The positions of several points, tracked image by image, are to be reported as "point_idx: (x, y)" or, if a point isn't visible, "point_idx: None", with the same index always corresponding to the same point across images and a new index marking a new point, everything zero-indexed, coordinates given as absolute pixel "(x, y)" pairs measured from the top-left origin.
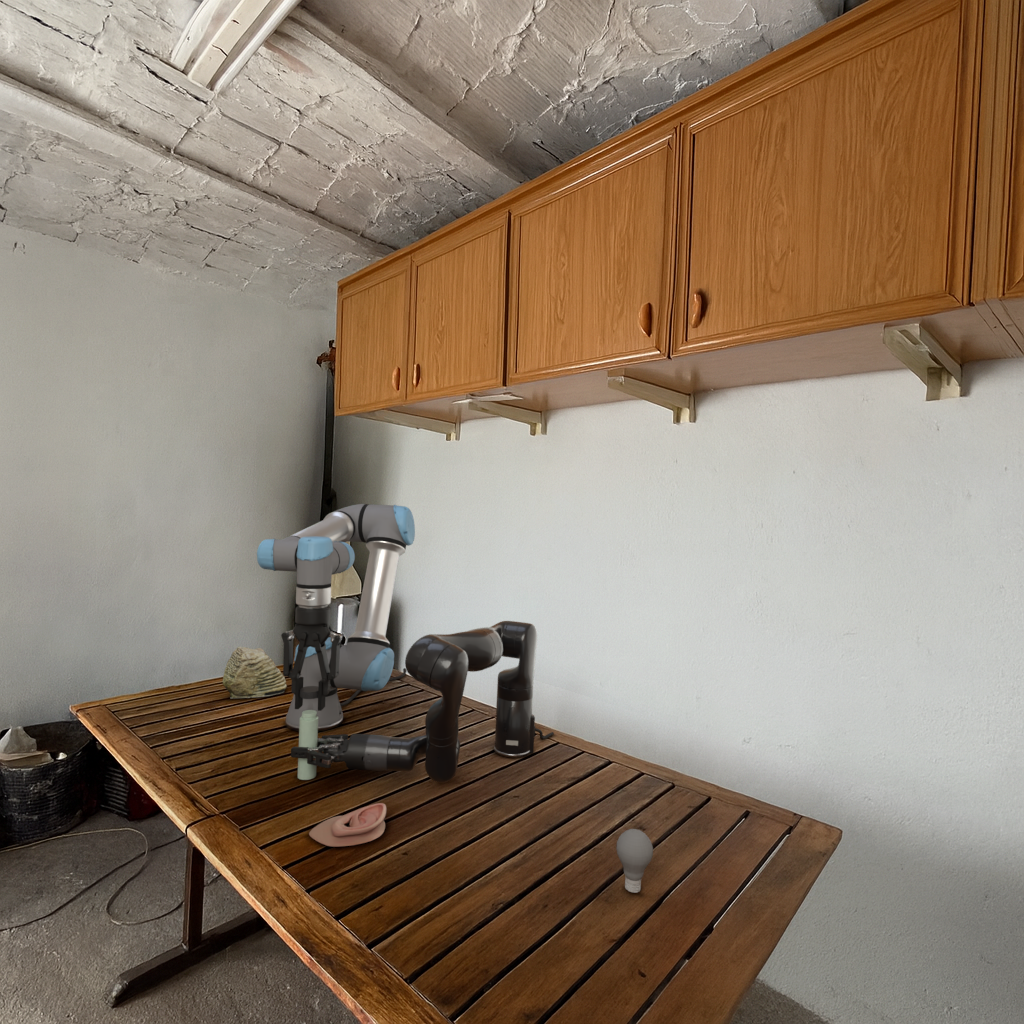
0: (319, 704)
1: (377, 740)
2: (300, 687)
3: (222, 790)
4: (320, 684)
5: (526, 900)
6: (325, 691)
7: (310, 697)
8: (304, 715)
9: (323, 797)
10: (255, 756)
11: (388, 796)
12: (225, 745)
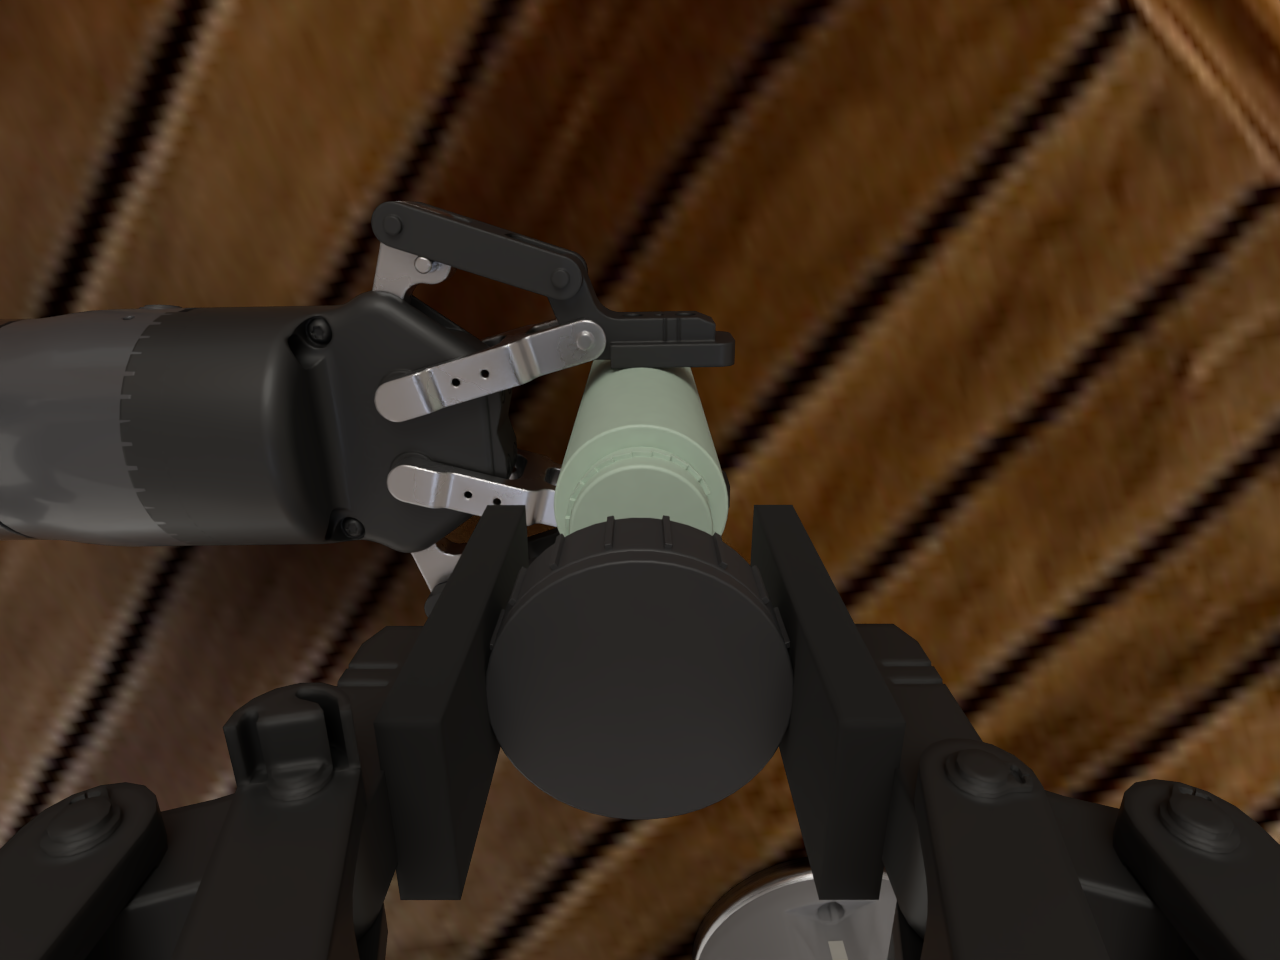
0: (493, 534)
1: (40, 410)
2: (797, 696)
3: (1056, 122)
4: (416, 693)
5: None
6: (387, 654)
7: (587, 536)
8: (666, 464)
9: (440, 124)
10: (1000, 568)
11: (86, 197)
12: (1196, 666)
